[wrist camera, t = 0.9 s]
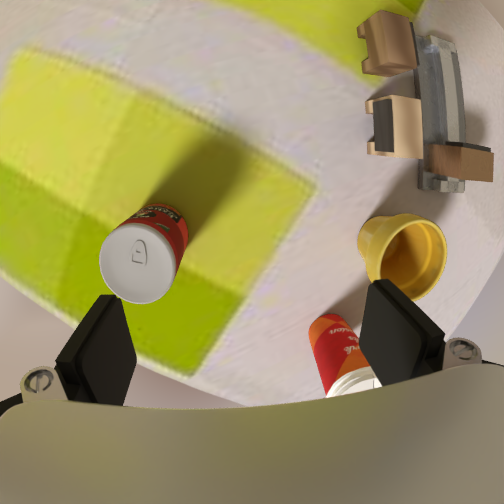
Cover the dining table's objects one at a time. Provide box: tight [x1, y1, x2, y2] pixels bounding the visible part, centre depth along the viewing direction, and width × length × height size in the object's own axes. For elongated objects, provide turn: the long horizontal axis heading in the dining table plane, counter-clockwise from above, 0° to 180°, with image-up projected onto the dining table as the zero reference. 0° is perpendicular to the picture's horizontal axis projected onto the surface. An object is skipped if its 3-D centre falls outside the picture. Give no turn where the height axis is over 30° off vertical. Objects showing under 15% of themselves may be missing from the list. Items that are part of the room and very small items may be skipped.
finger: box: [357, 10, 420, 77], centre depth 27 cm, size 5×7×7 cm, turn 3°
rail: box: [413, 35, 494, 193], centre depth 29 cm, size 23×9×8 cm, turn 3°
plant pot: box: [357, 213, 447, 302], centre depth 34 cm, size 10×10×10 cm
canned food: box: [99, 203, 188, 304], centre depth 31 cm, size 8×8×11 cm
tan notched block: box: [365, 95, 423, 159], centre depth 30 cm, size 5×7×7 cm, turn 3°
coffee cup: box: [309, 314, 382, 398], centre depth 36 cm, size 8×8×15 cm
